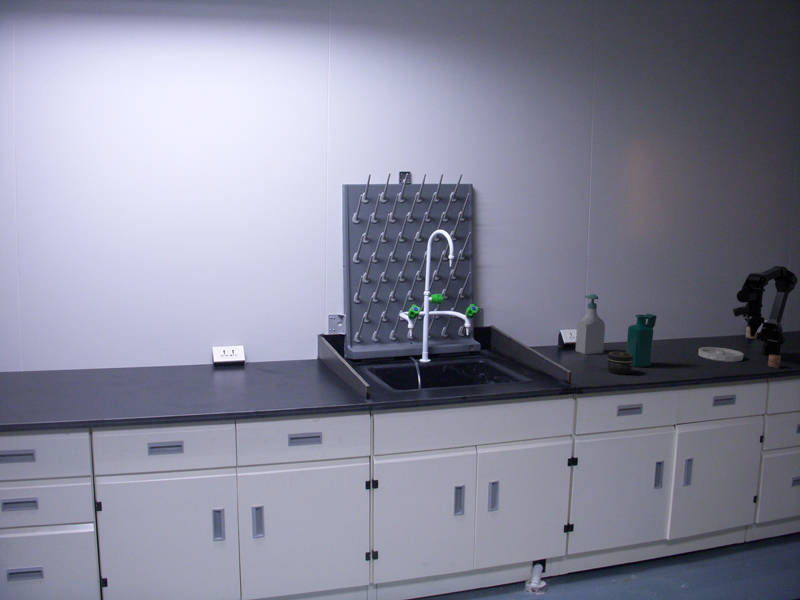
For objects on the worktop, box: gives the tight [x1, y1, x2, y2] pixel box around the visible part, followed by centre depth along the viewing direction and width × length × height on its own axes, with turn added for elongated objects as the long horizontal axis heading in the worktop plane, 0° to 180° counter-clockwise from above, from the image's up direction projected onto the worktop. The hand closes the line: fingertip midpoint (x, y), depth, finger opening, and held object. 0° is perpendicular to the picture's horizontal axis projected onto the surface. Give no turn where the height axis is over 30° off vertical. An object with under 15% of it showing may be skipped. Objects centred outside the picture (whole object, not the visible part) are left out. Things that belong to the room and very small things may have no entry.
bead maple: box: [745, 325, 759, 340], centre depth 285 cm, size 4×4×5 cm
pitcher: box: [625, 313, 657, 368], centre depth 270 cm, size 10×8×22 cm
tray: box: [697, 346, 745, 363], centre depth 290 cm, size 18×18×3 cm
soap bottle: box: [575, 293, 606, 355], centre depth 293 cm, size 11×8×27 cm
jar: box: [606, 351, 633, 376], centre depth 258 cm, size 10×10×8 cm
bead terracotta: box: [767, 355, 782, 369], centre depth 273 cm, size 4×4×5 cm
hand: (751, 335), depth 285 cm, fingers closed on bead maple, 4 cm apart
